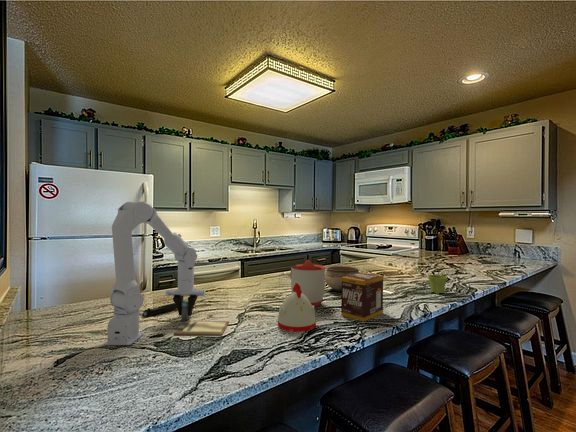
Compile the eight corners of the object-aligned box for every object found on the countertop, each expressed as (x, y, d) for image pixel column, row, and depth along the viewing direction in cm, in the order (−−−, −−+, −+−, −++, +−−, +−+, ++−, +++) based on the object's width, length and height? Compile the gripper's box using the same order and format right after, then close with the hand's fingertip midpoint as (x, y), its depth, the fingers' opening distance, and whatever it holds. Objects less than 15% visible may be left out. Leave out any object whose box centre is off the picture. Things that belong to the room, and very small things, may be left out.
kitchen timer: (283, 333, 105) (283, 289, 105) (274, 320, 118) (274, 280, 118) (321, 329, 108) (321, 286, 108) (308, 317, 122) (308, 279, 122)
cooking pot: (372, 294, 158) (372, 270, 158) (343, 298, 149) (343, 273, 149) (341, 284, 180) (341, 263, 180) (314, 287, 171) (314, 265, 171)
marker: (188, 321, 116) (188, 302, 116) (179, 321, 116) (180, 302, 115) (190, 318, 119) (191, 300, 119) (182, 318, 119) (182, 300, 119)
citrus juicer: (293, 297, 150) (294, 256, 150) (329, 301, 143) (329, 258, 143) (281, 306, 135) (281, 260, 135) (319, 311, 129) (320, 263, 129)
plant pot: (428, 294, 158) (428, 277, 158) (426, 290, 167) (426, 274, 167) (448, 295, 156) (449, 278, 156) (445, 291, 165) (445, 275, 165)
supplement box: (340, 315, 124) (340, 276, 124) (361, 307, 134) (361, 271, 134) (363, 322, 116) (363, 280, 116) (383, 313, 127) (383, 275, 127)
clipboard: (222, 335, 102) (222, 331, 102) (173, 335, 102) (173, 330, 102) (228, 322, 114) (228, 319, 114) (185, 322, 114) (185, 318, 114)
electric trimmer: (181, 309, 131) (181, 302, 131) (146, 318, 119) (146, 310, 119) (176, 308, 133) (176, 300, 133) (141, 316, 121) (141, 308, 121)
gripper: (207, 276, 121) (207, 311, 121) (170, 276, 121) (170, 311, 121) (202, 280, 114) (202, 317, 114) (163, 280, 114) (163, 317, 114)
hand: (185, 314), depth 117 cm, fingers closed on marker, 3 cm apart
